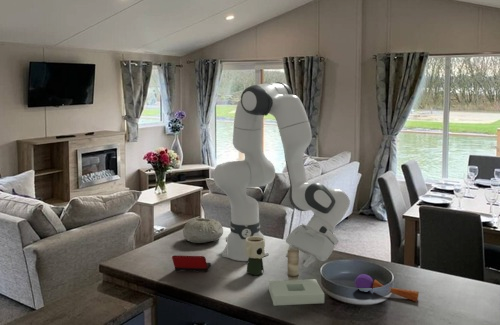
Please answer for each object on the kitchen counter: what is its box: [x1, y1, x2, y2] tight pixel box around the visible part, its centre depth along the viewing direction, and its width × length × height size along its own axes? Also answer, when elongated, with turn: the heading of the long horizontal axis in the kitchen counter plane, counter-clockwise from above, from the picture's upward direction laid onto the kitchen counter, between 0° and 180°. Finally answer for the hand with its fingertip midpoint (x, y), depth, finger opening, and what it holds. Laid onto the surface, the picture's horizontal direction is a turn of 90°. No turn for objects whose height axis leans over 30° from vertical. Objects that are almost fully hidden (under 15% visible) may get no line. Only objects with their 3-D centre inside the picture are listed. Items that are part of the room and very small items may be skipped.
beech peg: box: [286, 248, 300, 280], centre depth 163 cm, size 4×4×12 cm
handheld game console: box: [171, 255, 212, 273], centre depth 177 cm, size 12×11×7 cm
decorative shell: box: [182, 217, 224, 244], centre depth 210 cm, size 18×18×10 cm
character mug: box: [245, 236, 266, 276], centre depth 173 cm, size 11×7×13 cm, turn 149°
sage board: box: [268, 278, 325, 307], centre depth 154 cm, size 12×16×3 cm
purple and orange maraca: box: [354, 273, 420, 303], centre depth 154 cm, size 6×6×20 cm
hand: (295, 262), depth 163 cm, fingers open, 8 cm apart
